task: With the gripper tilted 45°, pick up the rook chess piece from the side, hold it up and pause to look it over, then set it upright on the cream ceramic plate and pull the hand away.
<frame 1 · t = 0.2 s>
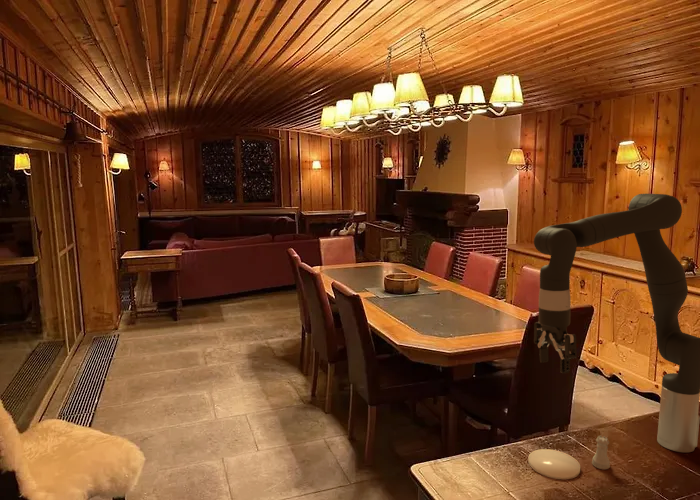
hand: (554, 367, 130), 29 cm above the table, tool pointing down, fingers open, 8 cm apart
cream plate: (553, 465, 136), on the table
rook chess piece: (600, 466, 136), on the table
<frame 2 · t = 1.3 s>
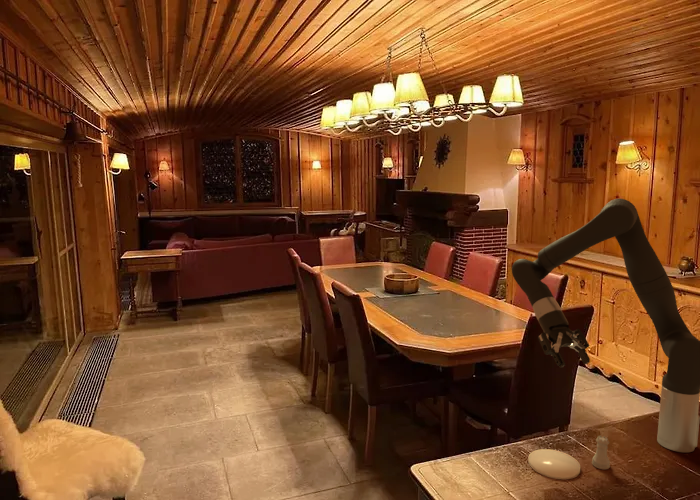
hand: (575, 364, 144), 24 cm above the table, tool tilted 45°, fingers open, 8 cm apart
nothing on the table moved.
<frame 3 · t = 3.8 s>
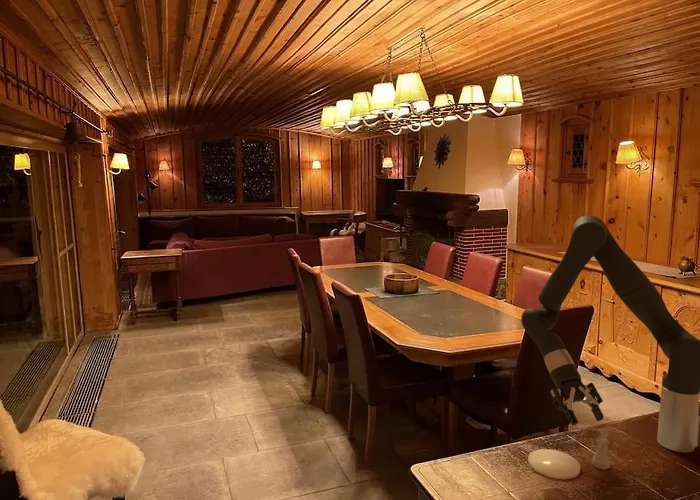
hand: (588, 422, 140), 10 cm above the table, tool tilted 45°, fingers open, 8 cm apart
nothing on the table moved.
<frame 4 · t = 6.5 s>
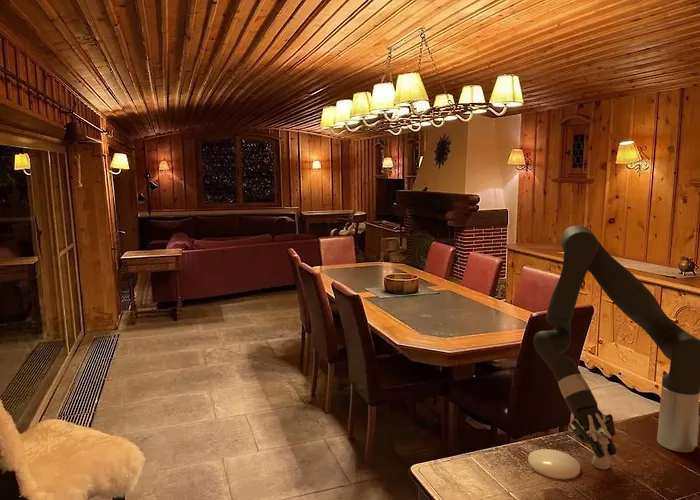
hand: (607, 455, 134), 4 cm above the table, tool tilted 45°, fingers closed on rook chess piece, 3 cm apart
rook chess piece: (600, 466, 136), on the table, touching gripper
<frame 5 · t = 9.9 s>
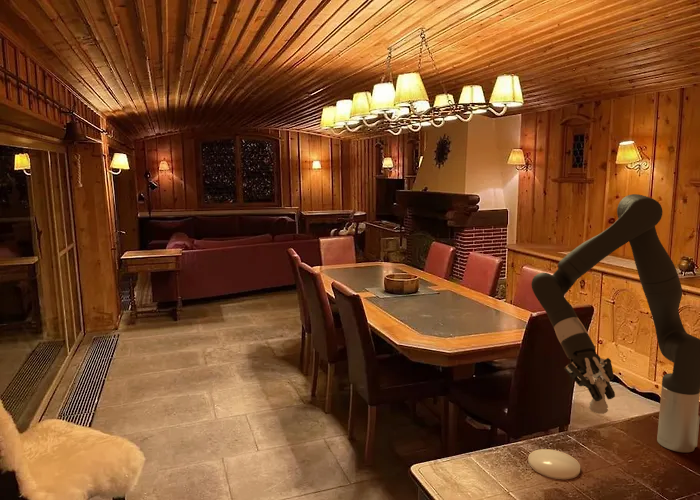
hand: (605, 398, 127), 22 cm above the table, tool tilted 45°, fingers closed on rook chess piece, 3 cm apart
rook chess piece: (598, 411, 130), point 18 cm above the table, touching gripper
when the fingers open (6 cm above the table, at t = 13.5 s): rook chess piece drops 1 cm, resting on cream plate.
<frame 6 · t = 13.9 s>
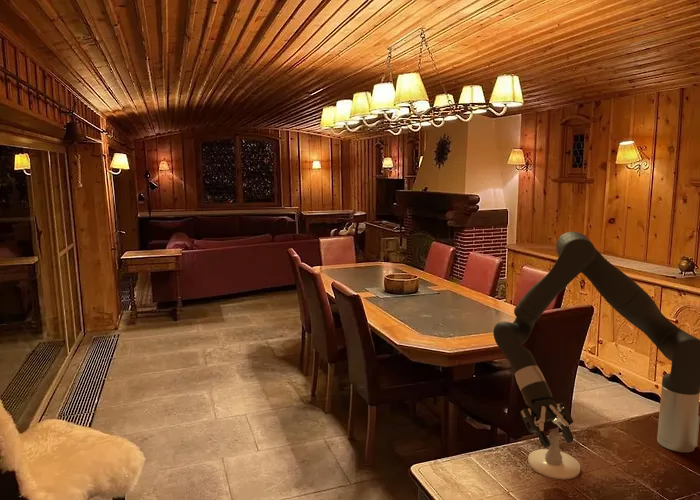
hand: (559, 444, 134), 7 cm above the table, tool tilted 45°, fingers open, 6 cm apart
rook chess piece: (553, 462, 136), point 1 cm above the table, touching cream plate
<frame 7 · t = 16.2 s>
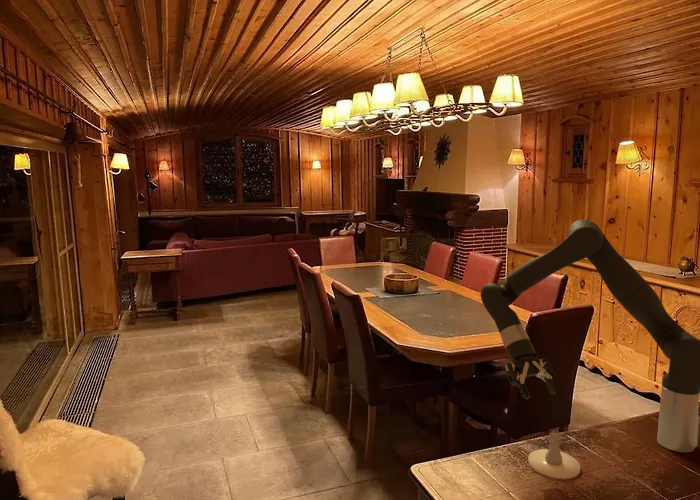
hand: (540, 395, 141), 16 cm above the table, tool tilted 45°, fingers open, 8 cm apart
nothing on the table moved.
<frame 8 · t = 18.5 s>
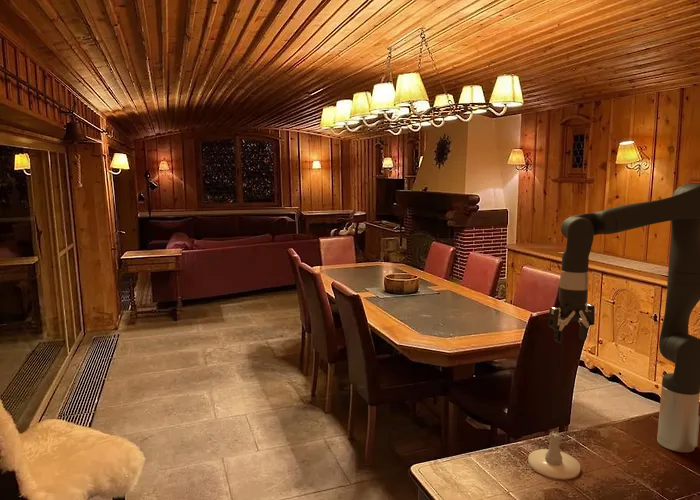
hand: (570, 341, 147), 30 cm above the table, tool pointing down, fingers open, 8 cm apart
nothing on the table moved.
at the end: rook chess piece inside the target area on the cream plate (0.2 cm from its centre), point 0.8 cm above the cream plate's base; rook chess piece tilted 0°; the gripper is holding nothing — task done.
